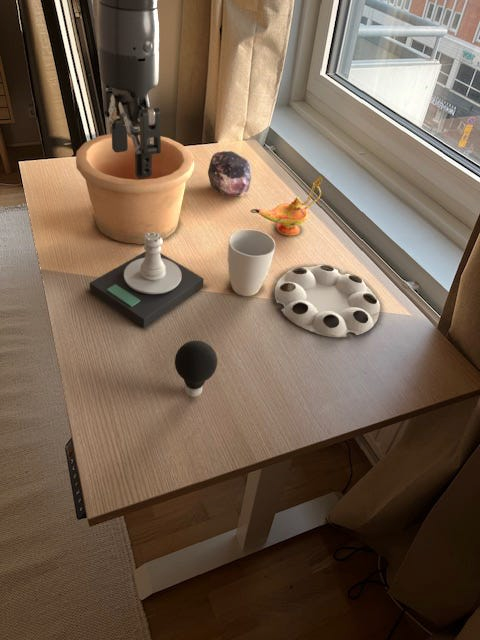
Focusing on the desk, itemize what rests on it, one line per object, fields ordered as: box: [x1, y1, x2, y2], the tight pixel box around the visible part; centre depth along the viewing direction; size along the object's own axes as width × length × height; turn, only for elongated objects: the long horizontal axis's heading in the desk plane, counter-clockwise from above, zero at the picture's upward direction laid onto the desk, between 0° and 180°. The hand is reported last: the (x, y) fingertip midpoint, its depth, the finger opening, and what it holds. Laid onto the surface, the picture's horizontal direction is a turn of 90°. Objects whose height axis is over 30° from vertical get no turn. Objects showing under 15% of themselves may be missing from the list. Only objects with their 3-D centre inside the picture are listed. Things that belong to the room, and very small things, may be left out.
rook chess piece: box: [140, 232, 166, 281], centre depth 88 cm, size 4×4×8 cm
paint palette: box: [274, 264, 381, 338], centre depth 95 cm, size 20×20×2 cm
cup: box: [227, 228, 276, 297], centre depth 92 cm, size 8×8×10 cm
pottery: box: [75, 133, 195, 245], centre depth 103 cm, size 22×22×14 cm
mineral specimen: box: [207, 150, 252, 198], centre depth 117 cm, size 10×10×10 cm
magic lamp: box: [250, 176, 323, 236], centre depth 107 cm, size 7×18×11 cm, turn 122°
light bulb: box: [174, 339, 218, 398], centre depth 73 cm, size 6×6×10 cm
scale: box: [89, 250, 205, 328], centre depth 91 cm, size 15×13×3 cm
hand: (131, 163), depth 76 cm, fingers open, 8 cm apart
